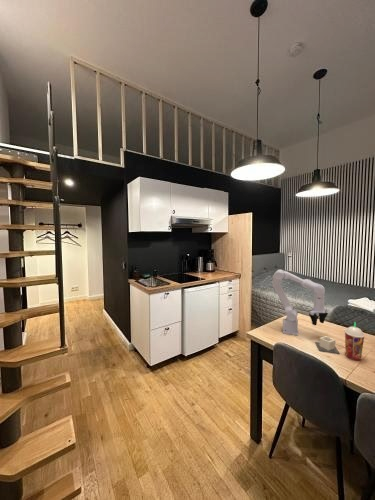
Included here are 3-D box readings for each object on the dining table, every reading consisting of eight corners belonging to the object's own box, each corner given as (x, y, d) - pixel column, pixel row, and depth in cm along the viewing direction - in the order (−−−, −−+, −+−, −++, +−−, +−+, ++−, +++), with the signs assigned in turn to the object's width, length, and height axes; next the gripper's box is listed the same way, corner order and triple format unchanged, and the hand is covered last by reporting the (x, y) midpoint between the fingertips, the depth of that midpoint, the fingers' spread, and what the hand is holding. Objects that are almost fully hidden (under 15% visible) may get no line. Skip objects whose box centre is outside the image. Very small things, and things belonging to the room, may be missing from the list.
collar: (319, 345, 126) (319, 337, 126) (325, 343, 128) (325, 336, 128) (329, 350, 121) (329, 342, 120) (334, 348, 123) (335, 340, 123)
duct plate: (319, 351, 122) (319, 344, 121) (315, 342, 131) (315, 336, 131) (339, 354, 118) (339, 347, 118) (333, 345, 128) (334, 338, 127)
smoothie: (364, 363, 110) (366, 326, 108) (344, 358, 114) (346, 323, 113) (361, 356, 117) (363, 321, 115) (342, 351, 121) (344, 318, 120)
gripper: (317, 307, 129) (317, 328, 130) (332, 303, 136) (331, 324, 136) (307, 303, 136) (306, 324, 137) (321, 300, 142) (320, 320, 143)
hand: (317, 323), depth 137 cm, fingers open, 7 cm apart
